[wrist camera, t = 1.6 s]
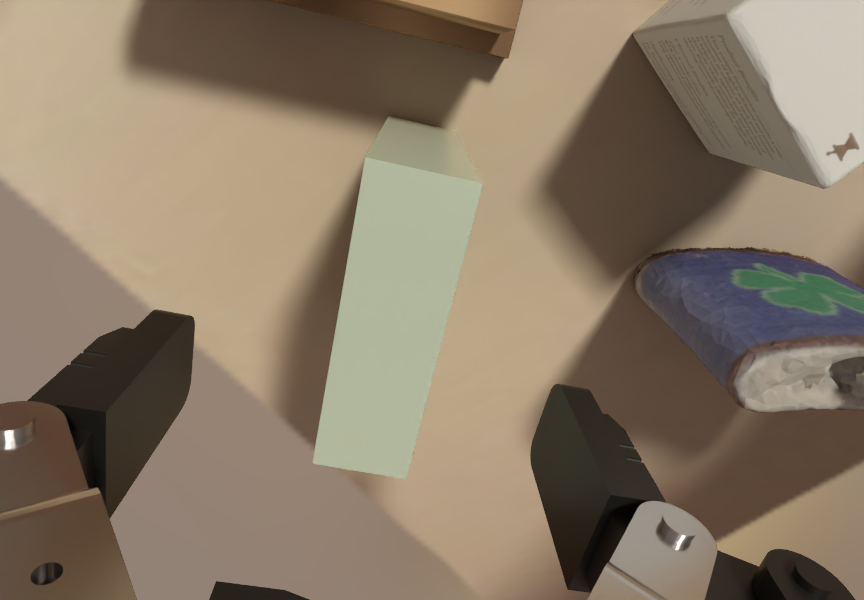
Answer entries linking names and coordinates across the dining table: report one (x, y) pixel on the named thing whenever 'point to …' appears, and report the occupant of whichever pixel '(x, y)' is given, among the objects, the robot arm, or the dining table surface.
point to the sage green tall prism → (396, 295)
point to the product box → (767, 80)
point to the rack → (433, 19)
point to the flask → (763, 324)
